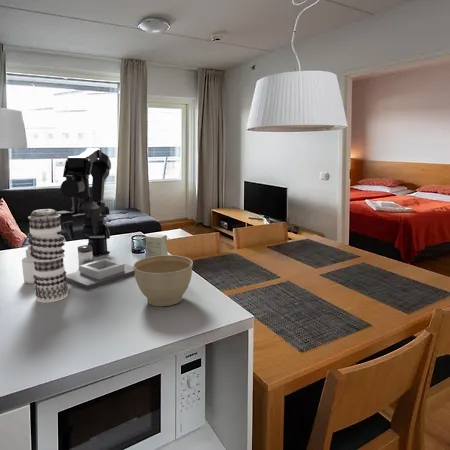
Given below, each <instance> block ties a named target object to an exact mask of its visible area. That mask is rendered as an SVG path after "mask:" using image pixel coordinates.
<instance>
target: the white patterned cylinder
mask: <svg viewBox="0 0 450 450" xmlns="http://www.w3.org/2000/svg"><path fill="white" fill-rule="evenodd" d="M57 212H58V211H57V210H55V209H52V208H43V209H36V210H33V211H32V212H31V214H30V215H29V216H28V217H27V218H28V220H29V232H28V233H27V238H28V240H27V242H28V245H31V246H30V248H29V249H30V250H31V253H30V255H31V256H32V260H33V261H34V276H33V277H34V279H35V281H34V284H33V285H34V287H33V288H34V295H35V301H37V302H39V303H41V304H42V303H44V304H45V303H46V304H47V303H48V304H49V303H55V302H59V301H61V300H65V298H68V296H69V292H68V289H69V288H68V282H66V279H67V277H66V276H65V275H67V271H66V268H65V264H64V258H65V251H66V250H65V249H64V248H63V247H64V246H65V244H66V243H64V242H63V241H65V237H63V236H61V235H63V234H64V233H65V231H64V230H63V229H62V225H61V223H60V219H59V216H61V215H60V214H58V213H57Z"/></svg>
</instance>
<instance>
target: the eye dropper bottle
mask: <svg viewBox="0 0 450 450" xmlns="http://www.w3.org/2000/svg"><path fill="white" fill-rule="evenodd" d="M27 246H28V247H27V248H26V250H25V257H23V258H22V259H21V266H22V267H21V268H22V275H23V276H22V277H23V281H24V283H26V284H30V285H35V284H34V281H35V279H34V277H33V276H34V261H33V260H32V256H31V255H30V253H31V250H30V249H29V248H30V246H31V244H28V245H27Z"/></svg>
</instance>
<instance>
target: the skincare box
mask: <svg viewBox="0 0 450 450" xmlns="http://www.w3.org/2000/svg"><path fill="white" fill-rule="evenodd" d="M145 249H146V250H145V252H146V258H147V257H152V256H160V255H169V252H168V235H167V234H157V233H151V234H148V235H146V236H145Z"/></svg>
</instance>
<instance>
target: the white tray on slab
mask: <svg viewBox="0 0 450 450" xmlns="http://www.w3.org/2000/svg"><path fill="white" fill-rule="evenodd" d="M65 276H66V277H67V279H66V282H67V283H69V284H72V285H74V286H77V287H78V288H81V289H84V290H87V291H91V290H93V289H96V288H99V287H103V286H105V285H108V284H111V283H114V282H117V281H121V280H124V279H125V278H129V277H133V276H135V271H134V268H133V265H130V264H126V263H123V262H120V261H116V260H111V259H109V258H102V259H99V260H96V261H95V260H93V262H91V263H87V264H83V265H80V267H79V270H78V271H73V272H71V273H66V275H65Z"/></svg>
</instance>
